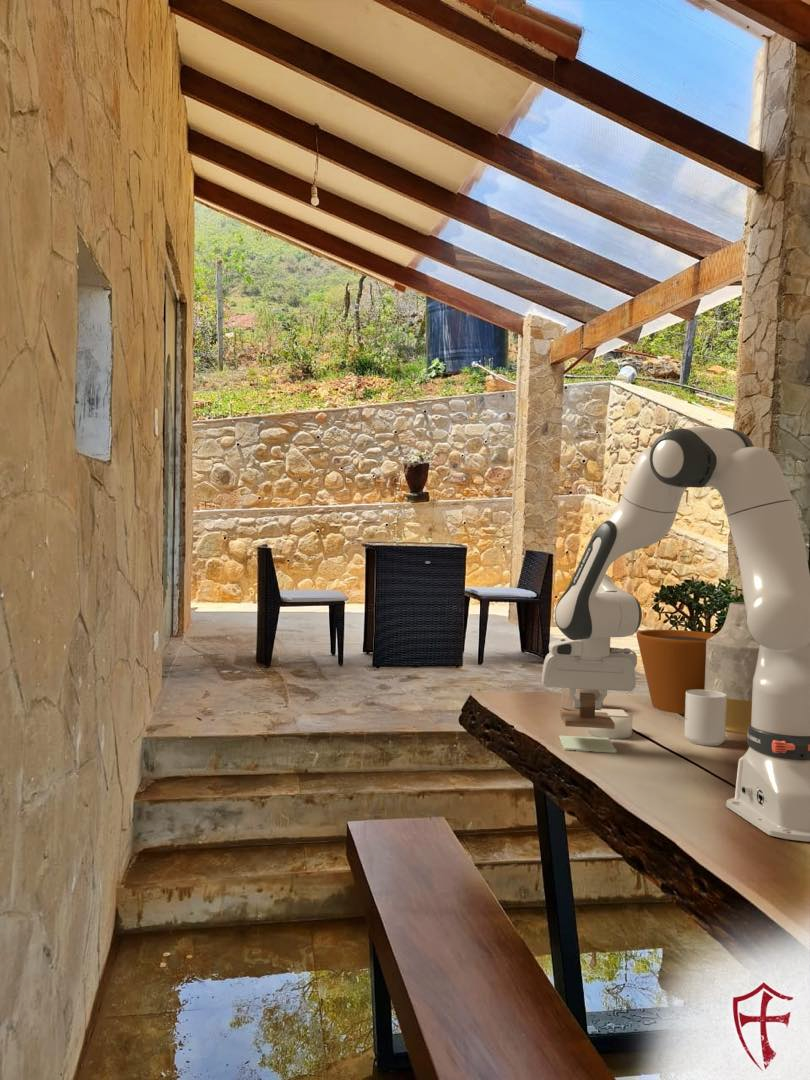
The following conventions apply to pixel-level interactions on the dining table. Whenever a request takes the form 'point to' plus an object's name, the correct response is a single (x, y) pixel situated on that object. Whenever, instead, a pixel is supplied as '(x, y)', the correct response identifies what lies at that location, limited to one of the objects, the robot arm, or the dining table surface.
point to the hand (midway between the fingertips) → (587, 709)
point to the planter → (568, 701)
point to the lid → (587, 715)
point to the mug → (705, 717)
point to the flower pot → (673, 665)
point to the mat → (587, 744)
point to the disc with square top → (621, 725)
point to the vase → (733, 667)
